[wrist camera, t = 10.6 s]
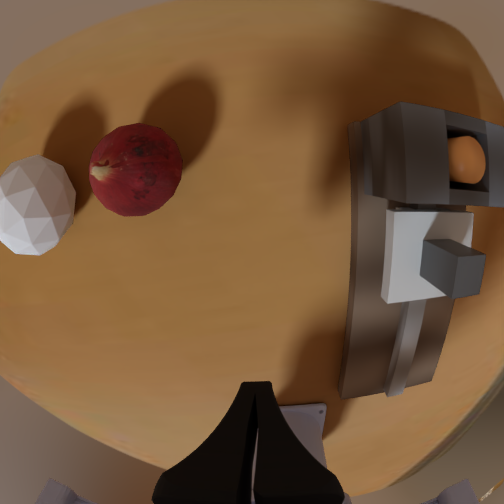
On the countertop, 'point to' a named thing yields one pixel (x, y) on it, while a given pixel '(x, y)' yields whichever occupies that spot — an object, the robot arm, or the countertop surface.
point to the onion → (135, 169)
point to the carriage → (430, 255)
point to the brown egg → (465, 160)
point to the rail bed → (374, 234)
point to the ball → (35, 205)
